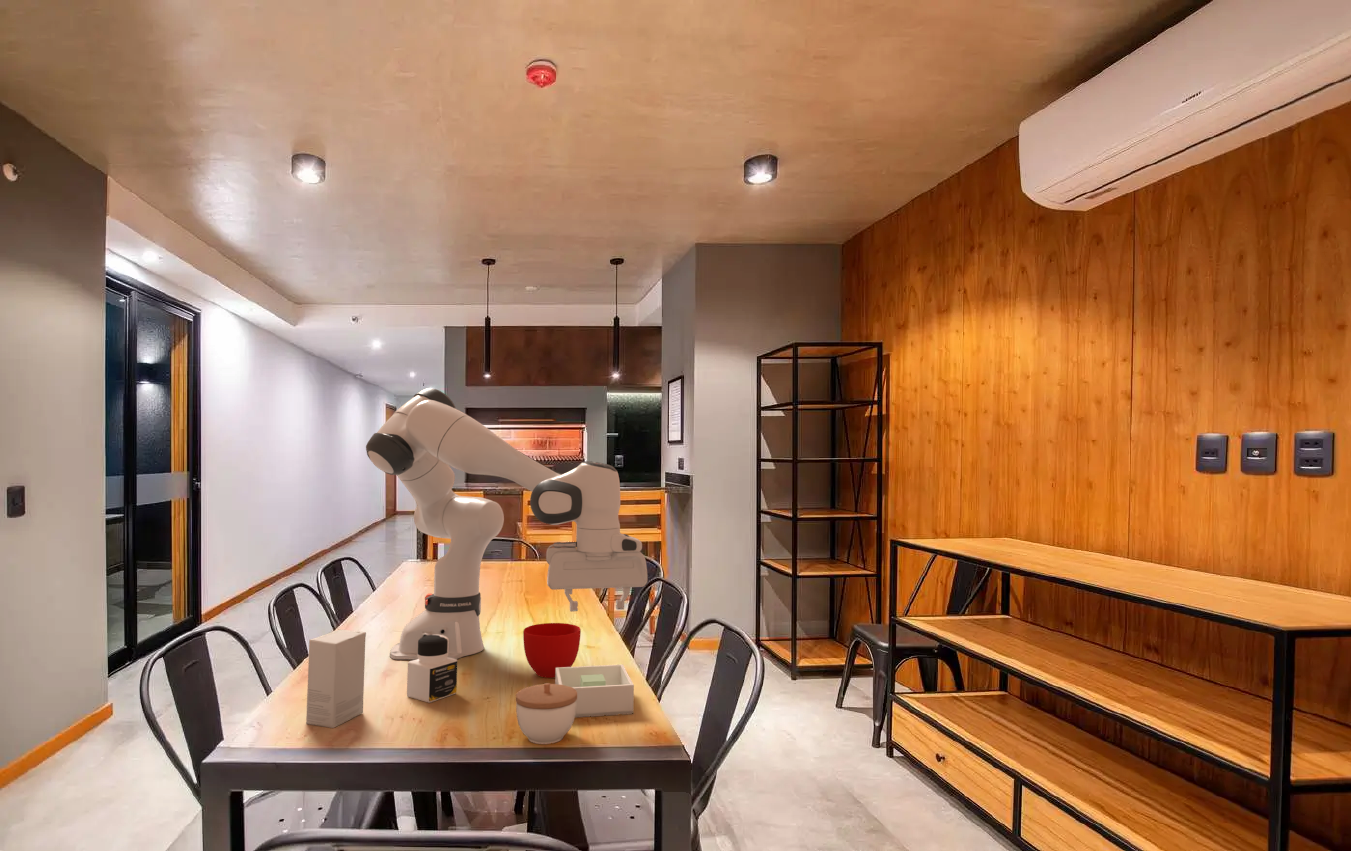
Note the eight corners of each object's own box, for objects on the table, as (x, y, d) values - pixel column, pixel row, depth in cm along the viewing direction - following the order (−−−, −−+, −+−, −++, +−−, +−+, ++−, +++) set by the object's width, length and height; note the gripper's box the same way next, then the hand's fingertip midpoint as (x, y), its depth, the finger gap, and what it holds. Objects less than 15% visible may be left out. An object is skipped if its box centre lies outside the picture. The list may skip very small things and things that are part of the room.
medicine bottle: (429, 703, 145) (431, 642, 145) (405, 696, 149) (407, 637, 149) (457, 693, 151) (458, 635, 151) (434, 687, 155) (435, 630, 155)
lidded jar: (525, 725, 134) (526, 673, 135) (582, 727, 133) (583, 675, 134) (506, 748, 123) (507, 692, 124) (568, 751, 122) (569, 694, 123)
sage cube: (582, 705, 143) (582, 682, 144) (580, 697, 148) (580, 675, 148) (605, 703, 144) (605, 680, 145) (602, 696, 149) (602, 674, 149)
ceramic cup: (578, 659, 177) (578, 618, 178) (581, 681, 161) (581, 635, 161) (523, 661, 175) (524, 619, 176) (521, 683, 158) (522, 636, 159)
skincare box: (337, 709, 141) (340, 628, 141) (366, 713, 139) (368, 631, 139) (303, 724, 133) (307, 638, 133) (333, 729, 131) (336, 641, 131)
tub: (559, 718, 138) (559, 689, 138) (555, 694, 151) (555, 667, 152) (633, 713, 141) (633, 684, 141) (622, 690, 155) (622, 664, 155)
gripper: (547, 544, 142) (546, 615, 142) (649, 542, 147) (648, 611, 147) (545, 540, 149) (544, 608, 148) (643, 538, 153) (642, 604, 153)
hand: (597, 610), depth 147 cm, fingers open, 8 cm apart
